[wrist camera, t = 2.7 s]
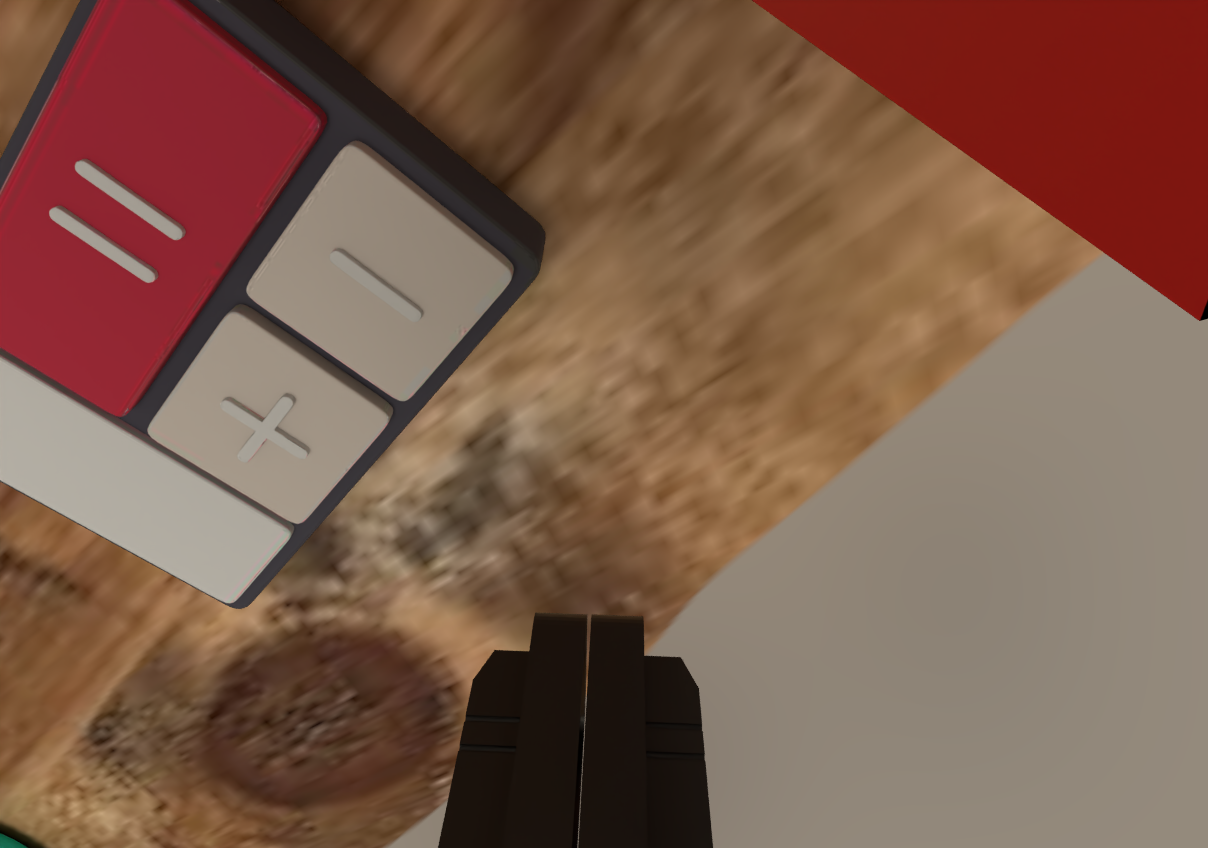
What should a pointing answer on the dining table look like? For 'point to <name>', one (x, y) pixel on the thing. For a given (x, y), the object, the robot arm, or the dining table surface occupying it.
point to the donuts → (9, 842)
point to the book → (1055, 108)
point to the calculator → (228, 282)
